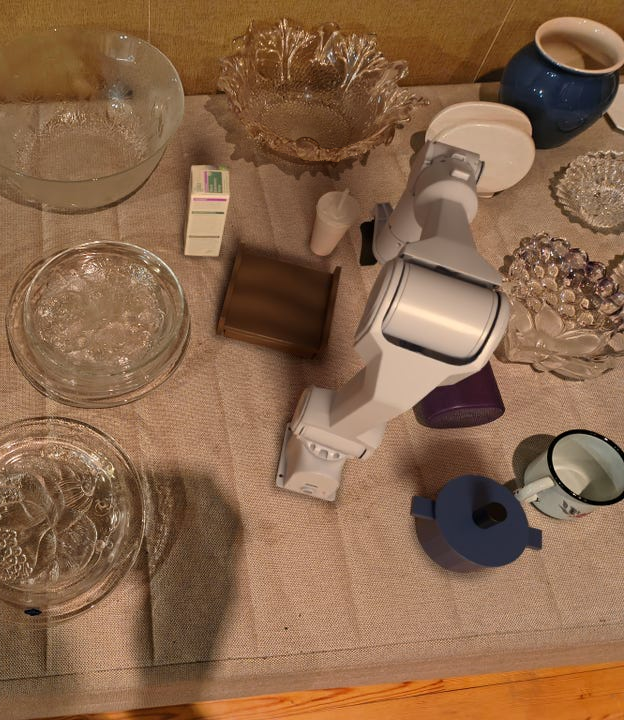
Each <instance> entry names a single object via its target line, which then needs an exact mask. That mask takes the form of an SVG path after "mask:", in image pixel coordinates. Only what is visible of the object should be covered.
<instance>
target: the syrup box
mask: <svg viewBox="0 0 624 720" xmlns="http://www.w3.org/2000/svg"><path fill="white" fill-rule="evenodd" d="M230 185H231V184H230V167H229V166H225V165H215V164H213V165H211V164H202V165H201V164H200V165H193V164H192V165H191V166H190V174H189V181H188V190H187V199H186V206H185V207H186V208H185V216H184V226H183V255H185V256H193V257H195V256H196V257H219V255H220V251H221V246H222V241H223V236H224V231H225V226H226V221H227V215H228V210H229V205H230V198H231V186H230Z"/></svg>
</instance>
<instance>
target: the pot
mask: <svg viewBox="0 0 624 720" xmlns="http://www.w3.org/2000/svg"><path fill="white" fill-rule="evenodd" d="M437 495H438V493H436V494H435V495H434V496H432V497H430V498H427V497H423V496H420V495H416V494H414V495H413V496H411V500H410V511H409V515H410V516H411V517H415V518H416V519H415V532H416V537H417V539H418V542H419V545H420V547H421V548H422V551H424V553H425V554H426V556H427V557H428V558H429V559H430V560H431V561H433V562H434V564H436V565H437V566H439V567H441V568H442V569H445V570H447V571H450V572H452V573H456V574H471V573H475V572H479V571H482V570H486V569H488V568H489V567H482V566H478V565H475V564H472V563H470V562H468V561H466V560H464V559H463V558H461V557H460V556H458V555H457V554H456V553H454V552H453V551H452V550H451V549H450V548H449V546H448V545H447V544H446V543H445V541H444V540H443V538H442V537H441V535H440V533H439V531H438V528H437V525H436V522H435V516H434V506H435V500H436V497H437ZM526 548H527V549H530V550H533V551H536V552H538V551H541V550H543V530H542V529H539V528H536V527H532V526H529V538H528V543H527V546H526ZM526 548H525V549H526Z"/></svg>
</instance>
